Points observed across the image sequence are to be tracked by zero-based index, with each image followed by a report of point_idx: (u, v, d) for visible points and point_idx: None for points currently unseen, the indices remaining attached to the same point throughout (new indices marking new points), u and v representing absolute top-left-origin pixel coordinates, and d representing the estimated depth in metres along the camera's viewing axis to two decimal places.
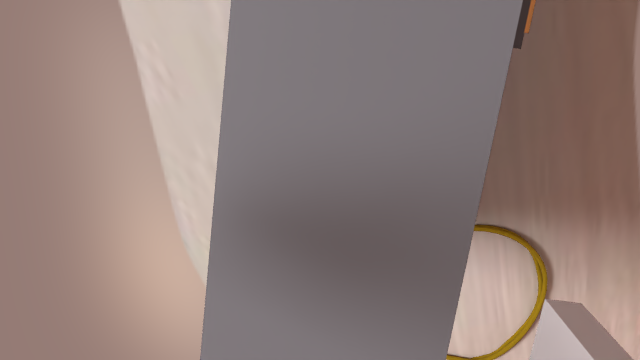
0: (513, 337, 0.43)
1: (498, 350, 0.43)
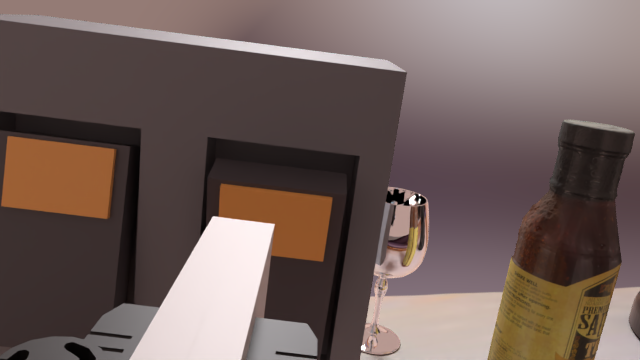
0: None
1: None
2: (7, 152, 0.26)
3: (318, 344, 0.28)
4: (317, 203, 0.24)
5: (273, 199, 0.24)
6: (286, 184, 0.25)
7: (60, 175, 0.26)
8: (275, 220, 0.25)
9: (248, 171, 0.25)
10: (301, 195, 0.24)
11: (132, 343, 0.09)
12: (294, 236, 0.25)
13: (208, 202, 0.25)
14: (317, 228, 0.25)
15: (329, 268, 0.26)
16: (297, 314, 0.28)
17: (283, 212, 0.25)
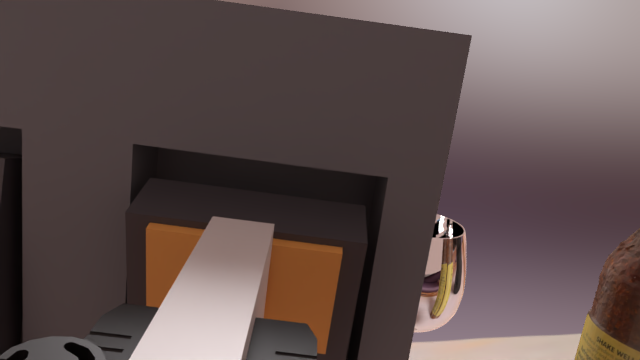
0: None
1: None
2: None
3: None
4: (315, 259, 0.14)
5: None
6: None
7: None
8: None
9: (200, 201, 0.15)
10: (288, 244, 0.14)
11: (131, 343, 0.09)
12: (276, 313, 0.15)
13: (129, 254, 0.14)
14: (317, 300, 0.15)
15: None
16: None
17: None
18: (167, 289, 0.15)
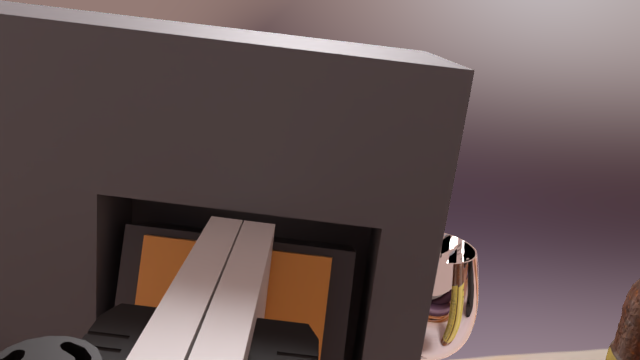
0: None
1: None
2: None
3: None
4: (306, 265, 0.14)
5: None
6: None
7: None
8: None
9: (196, 229, 0.16)
10: (280, 251, 0.15)
11: (129, 343, 0.09)
12: None
13: (122, 271, 0.15)
14: (308, 315, 0.14)
15: None
16: None
17: None
18: (156, 306, 0.14)
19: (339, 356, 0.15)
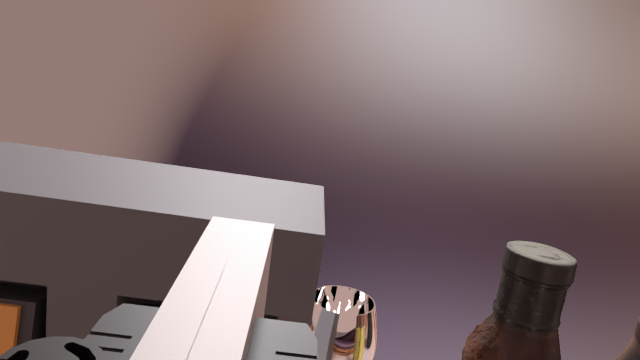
0: None
1: None
2: None
3: None
4: None
5: None
6: None
7: None
8: None
9: None
10: None
11: (132, 343, 0.09)
12: None
13: None
14: None
15: None
16: None
17: None
18: None
19: None
